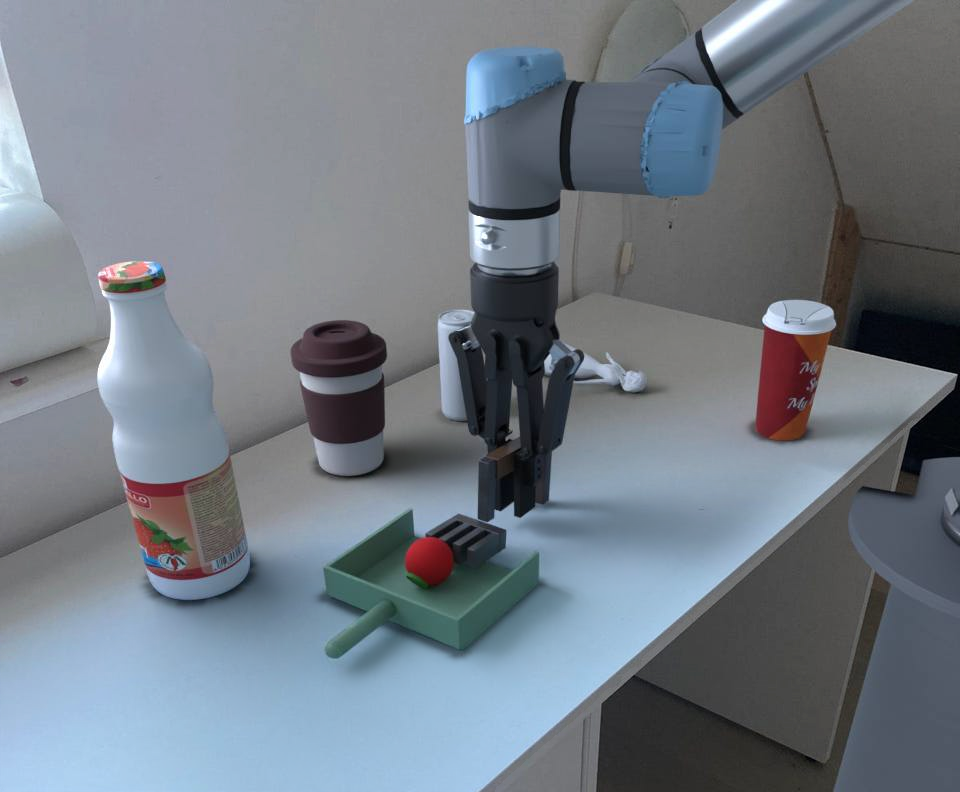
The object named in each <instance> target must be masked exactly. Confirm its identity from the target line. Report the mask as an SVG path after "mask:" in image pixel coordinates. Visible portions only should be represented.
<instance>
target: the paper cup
mask: <svg viewBox="0 0 960 792" xmlns="http://www.w3.org/2000/svg"><path fill="white" fill-rule="evenodd" d="M761 321H762V323H763V324H764V329H763V338H762V340H763V341H762V347H761V348H762V349H761V360H760V370H759V379H758V380H759V382H758V389H757V401H756V413H755V431H756V433H757V434H758V435H760V436H762V437H763V438H766V439H769V440H774V441H780V442H781V441H782V442H783V441H785V442H786V441H787V442H788V441H794V440H798V439H800V438H802V437H803V436H804V435H805V433H806V429H807V426H808V422H809V419H810V416H811V412H812V407H813V403H814V400H815V397H816V392H817V389H818V386H819V381H820V378H821V373H822V369H823V365H824V361H825V358H826V353H827V351H828V346H829V342H830V339H831V335H832V331H833V329H835V328H836V327H837V322H836V320H835V312H834V310H833V308H831V306H829V305H827V304H824V303H820V302H818V301H812V300H806V299H785V300H778V301H776V302H773V303H771V304H770V305H769V306H768V308H767V311H766V313H765V314H764V315H763V316H762V320H761Z"/></svg>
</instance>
